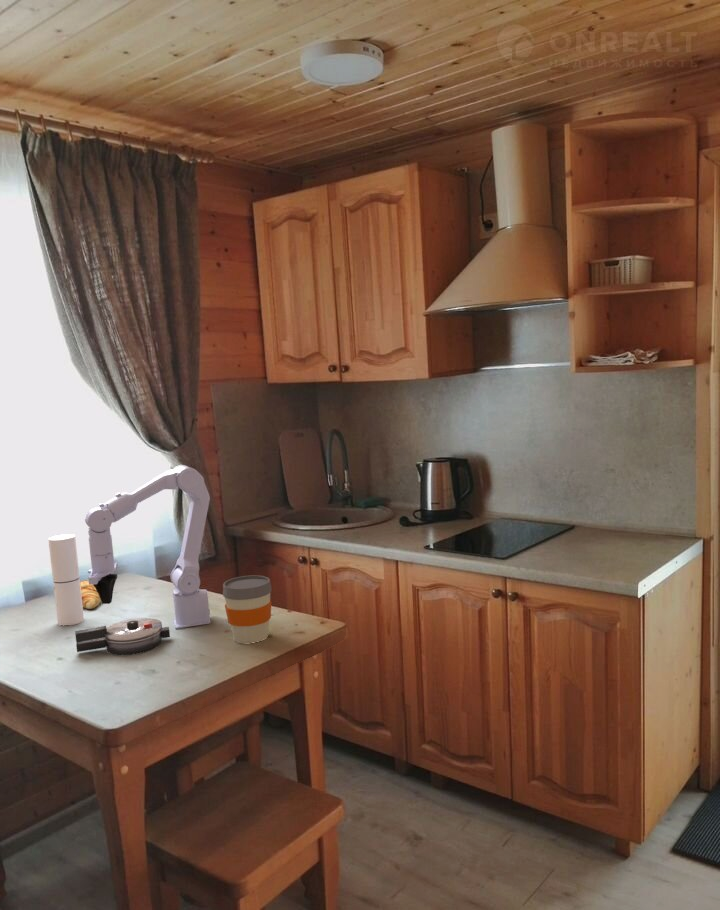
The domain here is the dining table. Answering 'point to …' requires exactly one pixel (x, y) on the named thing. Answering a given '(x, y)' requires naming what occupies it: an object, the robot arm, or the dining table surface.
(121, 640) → the pressure cooker lid
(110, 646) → the pot
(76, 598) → the cylindrical container
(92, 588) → the croissant
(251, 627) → the reusable coffee cup
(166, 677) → the dining table surface
